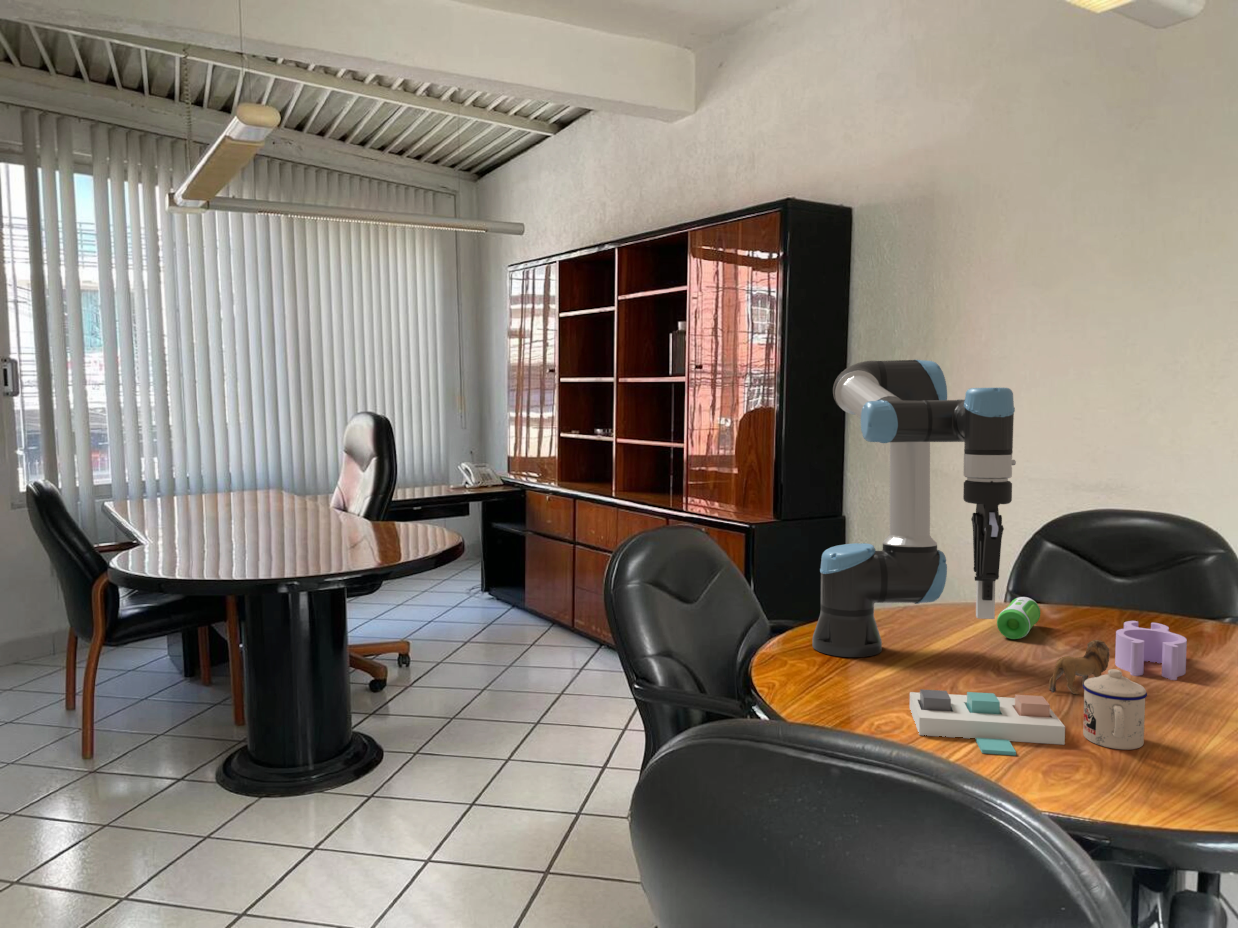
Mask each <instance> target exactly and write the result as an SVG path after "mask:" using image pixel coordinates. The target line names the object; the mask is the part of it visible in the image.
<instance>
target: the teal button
mask: <svg viewBox="0 0 1238 928" xmlns="http://www.w3.org/2000/svg"><path fill="white" fill-rule="evenodd" d="M966 695H967V709H968V710H969V712H970V713H983V714H1000V702H999V700H998V699H997V697H998V696H996V694H995V693H993V692H973V691H967V692H966Z"/></svg>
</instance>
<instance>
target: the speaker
mask: <svg viewBox="0 0 1238 928" xmlns="http://www.w3.org/2000/svg"><path fill="white" fill-rule="evenodd" d="M1040 617H1041V608H1040V606H1039V605H1038V603H1037V602H1036V601H1035V600H1034V599H1032V598H1030V597H1027V596H1020V597H1016V598H1014V599H1013V600H1012V601H1010V603H1009V605H1007V607H1005V608H1004V609H1003V610H1001V611H1000V613H999V614H998V616H997V619H996V627H997V629H998V631H999V633H1000V634H1001V635H1002V636H1004V637H1005V638H1007V639H1010V640H1019V639H1022V638H1025V637H1026V636H1028V634H1029V632H1030V630H1031V629H1033V627H1034V625H1036V624H1037V623H1038V622H1039V620H1040V619H1041V618H1040Z"/></svg>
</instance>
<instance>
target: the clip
mask: <svg viewBox="0 0 1238 928" xmlns="http://www.w3.org/2000/svg"><path fill="white" fill-rule="evenodd" d="M1169 629H1170V628H1169V626H1168V625H1165V624H1162V623H1158V622H1151V623H1150V628H1145V627H1139V621H1138V620H1137V621H1136V620H1128V621H1125V622H1123V628H1120V629H1117V630H1115V651H1114V652H1115V656H1114V657H1115V658H1114V662H1115V663H1114V665H1115V666H1116V667H1117V668H1119V669H1120V670H1122V671H1126V672H1129V675H1130V676H1134V677H1137V676H1138V677H1139V676H1142V675H1143V674H1144V663H1145V662H1148V661H1150V662H1149V663H1155V662H1157V663H1156V664H1160V663H1162V664H1161V676H1162V677H1163V678H1165V679H1167V678H1168V679H1167V680H1171V681H1177V680H1178V677H1182V676H1184V675H1186V674H1187V673H1186V671H1187V669H1186V666H1187V643H1188V642H1187V637H1185V636H1183V635H1181V634H1178V633H1175V632H1171V631H1170V630H1169Z"/></svg>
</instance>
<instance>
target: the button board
mask: <svg viewBox="0 0 1238 928" xmlns="http://www.w3.org/2000/svg"><path fill="white" fill-rule="evenodd" d="M948 695H949V697H950V699H951V712H950V711H933V710H921V708H920V692H914V691H909V710H911V711H910V713H912V714H911V716H912V719H913V721H915V722H914V724H916V725H915V727H916V730H917V733H918V732H919V733H918V735H919V736H924V735H925V736H926V735H927V736H926V737H939V736H942V737H943V738H955V737H963V738H962V739H970V738H975V739H974V740H976V738H990V739H1006V740H1009V741H1010V742H1017V743H1018V742H1021V743H1034V744H1048V745H1049V744H1050V745H1063V746H1064V745H1065V744H1066V742H1065V741H1066V740H1065V739H1066V737H1065V736H1066V726H1065V725H1064V724H1063V722H1062V721H1061V720H1060V719H1059V717H1058V716H1057V715H1056V714H1055V712H1054V711H1053V709H1051V708H1050V717H1033V716H1019V715H1018V713H1017V712H1016V710H1015V697H1005V696H996V697H997V699H998V700H999V702H1000V714H983V713H970V712H969V710H968V709H967V694H951V693H948ZM945 736H946V737H945Z"/></svg>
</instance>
